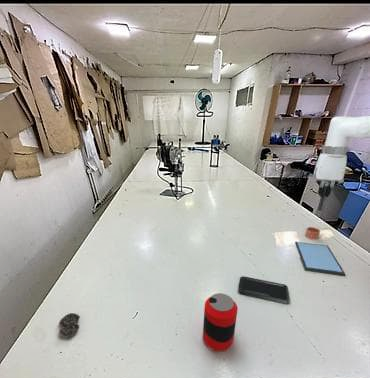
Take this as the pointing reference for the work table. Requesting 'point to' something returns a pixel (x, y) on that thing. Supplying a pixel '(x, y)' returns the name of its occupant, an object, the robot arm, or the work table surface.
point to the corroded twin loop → (69, 325)
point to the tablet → (318, 259)
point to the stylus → (323, 197)
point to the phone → (264, 289)
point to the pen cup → (312, 233)
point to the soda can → (219, 322)
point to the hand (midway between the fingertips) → (323, 195)
